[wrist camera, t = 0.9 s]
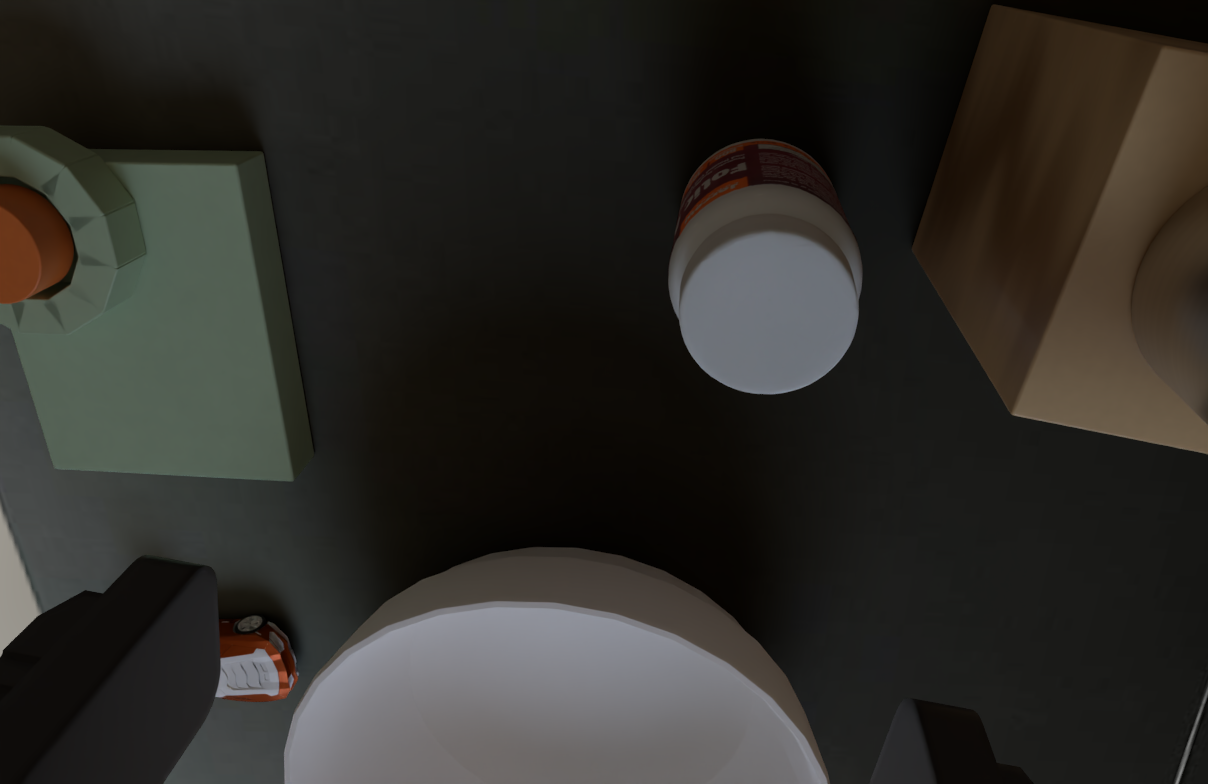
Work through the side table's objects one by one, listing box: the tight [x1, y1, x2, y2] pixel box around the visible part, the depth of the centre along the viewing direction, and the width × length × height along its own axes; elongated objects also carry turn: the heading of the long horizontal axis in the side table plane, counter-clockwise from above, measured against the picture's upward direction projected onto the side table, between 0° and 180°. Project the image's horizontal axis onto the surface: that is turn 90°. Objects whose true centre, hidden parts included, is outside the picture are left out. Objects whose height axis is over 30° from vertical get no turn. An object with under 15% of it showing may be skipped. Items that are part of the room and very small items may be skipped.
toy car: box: [215, 614, 299, 702], centre depth 37 cm, size 5×8×3 cm, turn 93°
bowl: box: [284, 547, 830, 784], centre depth 34 cm, size 18×18×7 cm
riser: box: [912, 4, 1208, 454], centre depth 22 cm, size 7×7×11 cm
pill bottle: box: [668, 139, 862, 394], centre depth 25 cm, size 5×5×8 cm
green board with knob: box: [0, 126, 314, 481], centre depth 30 cm, size 12×10×4 cm
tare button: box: [0, 184, 74, 304], centre depth 27 cm, size 3×3×2 cm
